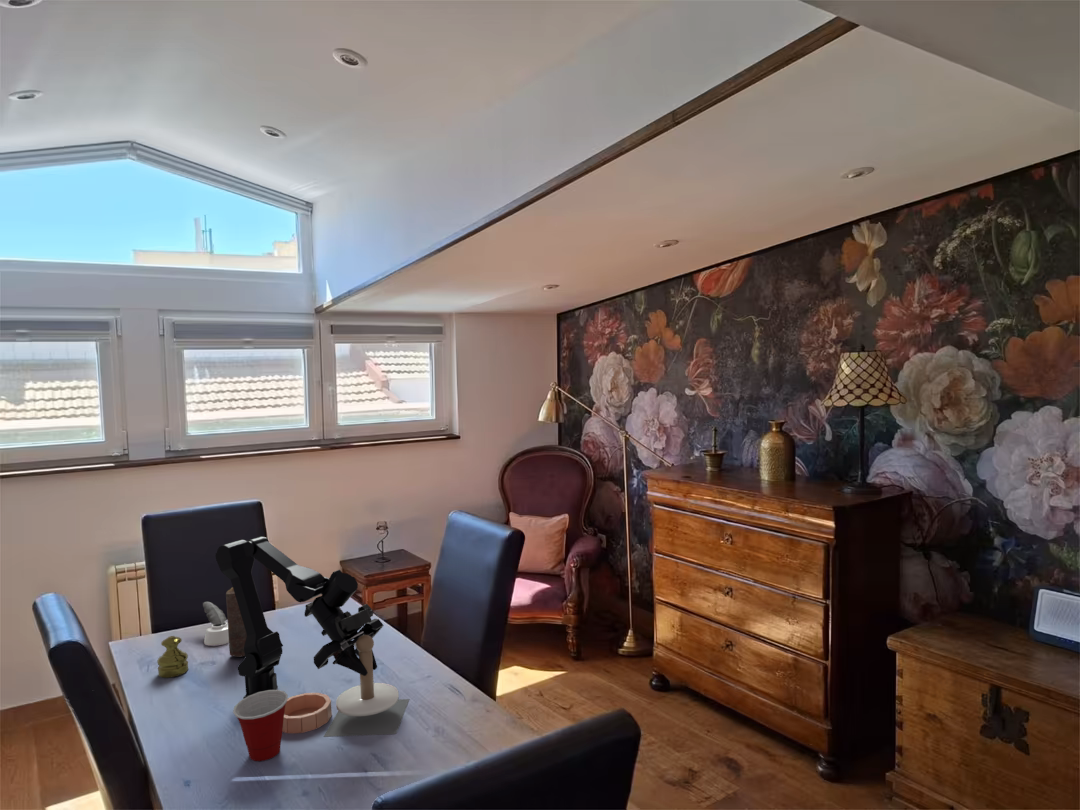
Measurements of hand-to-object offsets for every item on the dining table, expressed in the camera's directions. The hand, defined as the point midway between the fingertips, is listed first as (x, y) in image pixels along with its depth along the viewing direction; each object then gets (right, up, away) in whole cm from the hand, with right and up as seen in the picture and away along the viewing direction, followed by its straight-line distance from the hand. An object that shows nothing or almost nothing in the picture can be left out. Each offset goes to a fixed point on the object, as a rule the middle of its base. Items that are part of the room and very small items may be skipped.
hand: (371, 671), depth 159 cm
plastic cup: (-20, -13, -13) cm, 27 cm away
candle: (-47, -11, +41) cm, 63 cm away
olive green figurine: (-62, -12, +31) cm, 70 cm away
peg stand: (-1, -7, +1) cm, 7 cm away
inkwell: (-63, -11, +56) cm, 85 cm away
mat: (-1, -12, +1) cm, 12 cm away
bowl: (-16, -12, +1) cm, 20 cm away
